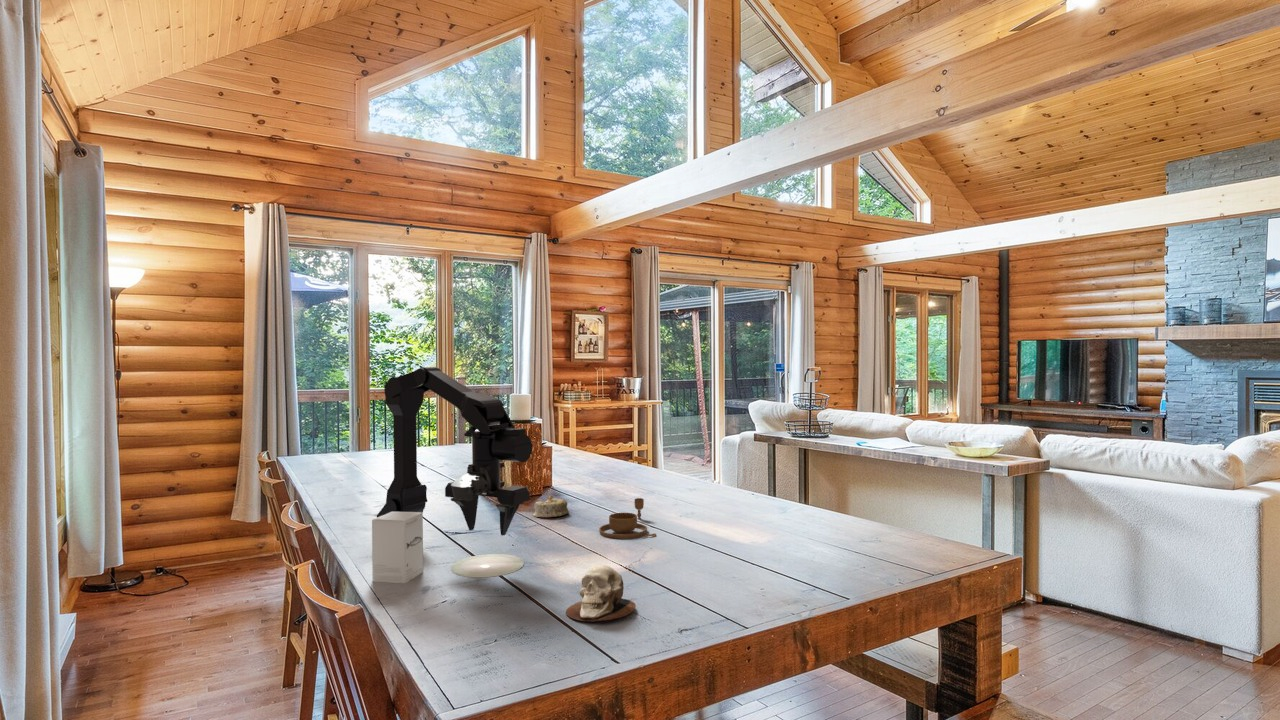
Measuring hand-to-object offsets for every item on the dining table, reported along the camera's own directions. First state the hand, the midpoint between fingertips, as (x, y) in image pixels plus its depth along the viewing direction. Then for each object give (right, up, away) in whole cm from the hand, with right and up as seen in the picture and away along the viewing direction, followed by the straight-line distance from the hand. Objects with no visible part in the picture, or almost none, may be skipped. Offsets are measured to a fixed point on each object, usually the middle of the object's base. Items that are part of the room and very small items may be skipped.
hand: (487, 532), depth 147 cm
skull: (+29, -9, -28) cm, 41 cm away
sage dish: (0, -7, 0) cm, 7 cm away
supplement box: (-16, -8, -7) cm, 19 cm away
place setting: (+31, -7, +29) cm, 43 cm away
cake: (+7, -7, +46) cm, 48 cm away
